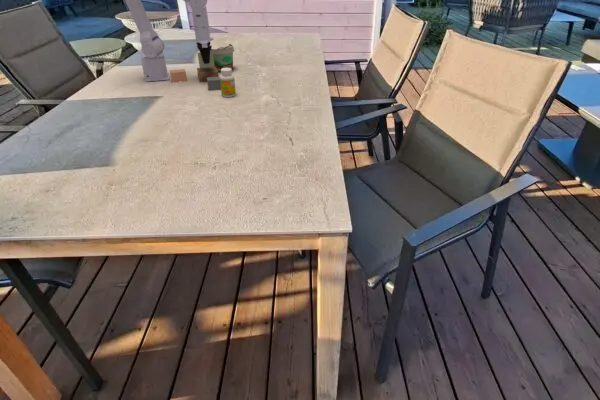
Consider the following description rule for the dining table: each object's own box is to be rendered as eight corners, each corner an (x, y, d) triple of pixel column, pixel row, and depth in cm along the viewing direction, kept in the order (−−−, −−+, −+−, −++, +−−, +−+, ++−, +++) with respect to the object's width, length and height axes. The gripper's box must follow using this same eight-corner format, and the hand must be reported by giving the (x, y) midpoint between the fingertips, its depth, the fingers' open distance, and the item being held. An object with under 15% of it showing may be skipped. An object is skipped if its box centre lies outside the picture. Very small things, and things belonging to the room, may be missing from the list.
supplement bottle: (218, 95, 144) (215, 70, 138) (227, 91, 148) (224, 66, 142) (230, 98, 142) (227, 72, 136) (238, 94, 146) (236, 68, 140)
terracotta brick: (172, 82, 156) (170, 73, 154) (171, 80, 160) (169, 70, 157) (187, 81, 158) (185, 71, 156) (186, 78, 161) (184, 68, 159)
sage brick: (199, 67, 155) (198, 55, 153) (199, 65, 159) (197, 52, 156) (214, 66, 157) (213, 54, 154) (213, 64, 160) (212, 51, 157)
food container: (221, 75, 165) (218, 51, 159) (212, 72, 168) (209, 48, 162) (241, 68, 173) (239, 45, 167) (232, 66, 176) (229, 43, 170)
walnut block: (199, 83, 157) (198, 73, 154) (198, 77, 163) (196, 68, 161) (219, 81, 159) (218, 71, 156) (217, 75, 165) (215, 66, 163)
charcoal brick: (208, 90, 149) (207, 80, 147) (208, 87, 152) (207, 77, 150) (224, 89, 150) (222, 79, 148) (223, 86, 153) (222, 76, 151)
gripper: (213, 29, 144) (217, 66, 152) (210, 22, 155) (214, 56, 163) (194, 30, 142) (199, 67, 150) (192, 23, 154) (197, 57, 162)
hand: (206, 62), depth 157 cm, fingers closed on sage brick, 4 cm apart
